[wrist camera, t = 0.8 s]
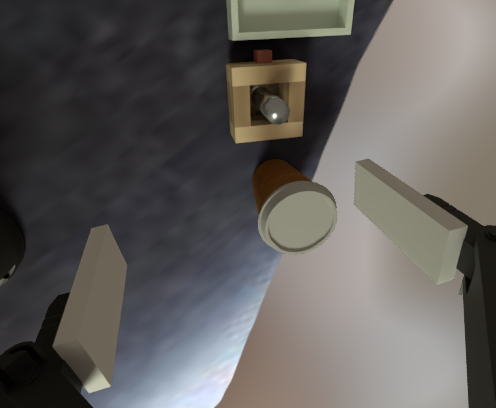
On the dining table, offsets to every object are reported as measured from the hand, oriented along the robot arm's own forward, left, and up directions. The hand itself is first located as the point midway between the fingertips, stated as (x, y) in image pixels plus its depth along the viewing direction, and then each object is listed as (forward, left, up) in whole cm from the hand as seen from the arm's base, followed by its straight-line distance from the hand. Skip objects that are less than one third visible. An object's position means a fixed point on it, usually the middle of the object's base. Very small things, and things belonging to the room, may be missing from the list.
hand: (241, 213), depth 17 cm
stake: (+7, 0, -26) cm, 27 cm away
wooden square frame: (+7, 0, -25) cm, 26 cm away
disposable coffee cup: (+9, -12, -26) cm, 30 cm away
